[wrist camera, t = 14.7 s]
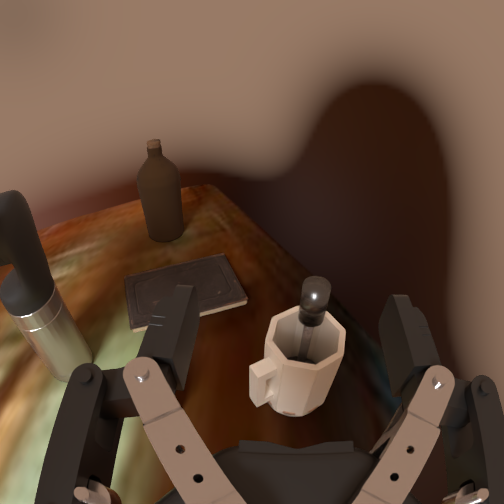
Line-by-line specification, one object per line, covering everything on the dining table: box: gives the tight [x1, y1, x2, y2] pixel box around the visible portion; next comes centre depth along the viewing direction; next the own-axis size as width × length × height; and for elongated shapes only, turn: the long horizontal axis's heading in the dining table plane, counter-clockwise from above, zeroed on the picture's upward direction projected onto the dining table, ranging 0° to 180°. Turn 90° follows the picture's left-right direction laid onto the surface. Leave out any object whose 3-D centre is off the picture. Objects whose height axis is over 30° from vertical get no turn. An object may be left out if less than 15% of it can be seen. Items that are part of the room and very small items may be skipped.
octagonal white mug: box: [249, 306, 346, 417], centre depth 42 cm, size 10×12×14 cm
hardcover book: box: [124, 253, 248, 333], centre depth 64 cm, size 16×23×2 cm
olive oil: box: [137, 139, 184, 242], centre depth 74 cm, size 11×11×25 cm
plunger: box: [287, 276, 331, 365], centre depth 38 cm, size 7×7×19 cm
